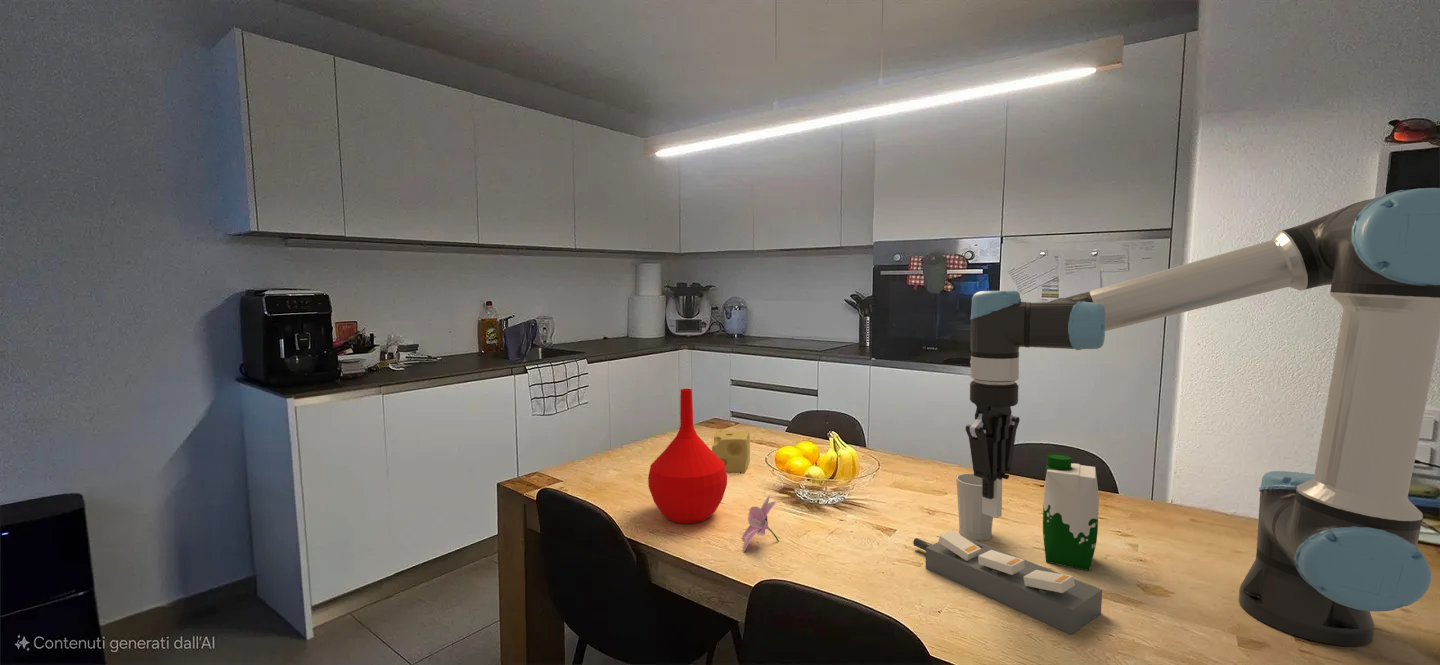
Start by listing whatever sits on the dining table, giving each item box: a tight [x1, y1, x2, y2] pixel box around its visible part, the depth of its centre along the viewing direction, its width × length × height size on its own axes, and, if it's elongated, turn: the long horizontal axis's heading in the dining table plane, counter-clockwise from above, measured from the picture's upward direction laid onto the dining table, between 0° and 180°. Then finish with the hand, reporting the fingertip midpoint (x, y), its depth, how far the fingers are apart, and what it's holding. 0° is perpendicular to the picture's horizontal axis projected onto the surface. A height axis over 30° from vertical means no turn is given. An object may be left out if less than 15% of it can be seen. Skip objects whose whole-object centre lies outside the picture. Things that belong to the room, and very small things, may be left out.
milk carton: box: [1042, 453, 1100, 572], centre depth 113 cm, size 9×9×20 cm
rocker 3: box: [1023, 570, 1075, 593], centre depth 95 cm, size 6×4×2 cm, turn 34°
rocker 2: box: [978, 550, 1025, 575], centre depth 102 cm, size 6×4×2 cm, turn 34°
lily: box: [741, 494, 780, 553], centre depth 122 cm, size 12×12×10 cm
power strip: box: [912, 535, 1103, 636], centre depth 105 cm, size 32×10×4 cm, turn 35°
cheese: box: [711, 429, 751, 474], centre depth 172 cm, size 10×11×10 cm
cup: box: [955, 472, 994, 542], centre depth 125 cm, size 8×8×12 cm
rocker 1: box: [937, 529, 981, 561], centre depth 108 cm, size 6×4×2 cm, turn 35°
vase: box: [647, 388, 728, 524], centre depth 136 cm, size 18×18×30 cm
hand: (991, 514), depth 103 cm, fingers closed
